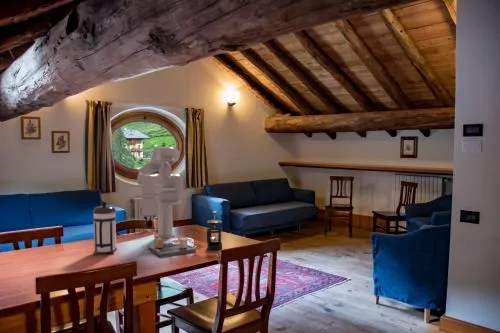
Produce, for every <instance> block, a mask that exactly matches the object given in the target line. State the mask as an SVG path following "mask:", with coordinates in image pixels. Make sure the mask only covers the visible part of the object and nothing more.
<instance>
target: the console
mask: <svg viewBox="0 0 500 333" xmlns="http://www.w3.org/2000/svg"><path fill="white" fill-rule="evenodd" d="M173 243H174V242H172V243H167V244H165V243H163V247H162V248H157V247H156V245H151V246H147V251H148V252H150V253H152V254H153V255H155V256H156V257H158V258H159V259H160V258H167V257H174V256H180V255H185V254H192V253H196V252H197V250H196V248H195V247H193V246H192V245H191V244H187V248H181V247H180V244H173Z"/></svg>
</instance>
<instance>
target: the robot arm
mask: <svg viewBox="0 0 500 333" xmlns="http://www.w3.org/2000/svg"><path fill="white" fill-rule="evenodd" d="M180 155H181V154H180V150H178V149H177V148H176V147H173V146H157V147H155V148H154V149H153V151H152V155H151V157H150V161H149V162H147V163H145V164H144V165H142V167H140V169H139V171H138V174H137V179H136V182H137V184H138V185H139V186H141V192H142V193H141V194H142V197H141V198H140V201H139V218H140V219H144V220H145V221H146V227H147V229H148V228H151V229H152V228H153V227H152V226H153V221H154V219H155V218H157V220H158V221H157V222H158V223H157V226H158V227H157V229H158V231H157V232H158V233H156V234H155V236H156V238H162V239H167V238H173V237H175V236H176V234H175V232H173V209H172V207H171V206H170V205H180V204H182V202H183V196H184V194H183V186H184V185H183V178H182V176H181V175H180V174H176V173H175V174H174V173H173V174H172V165H171V163H170V162H178V161H179V160H180ZM155 172H158V173H155ZM158 186H159V187H160V188H162V189H164V190H158V192H157V193H156V187H158ZM170 189H173V190H170Z"/></svg>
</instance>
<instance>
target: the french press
mask: <svg viewBox="0 0 500 333" xmlns="http://www.w3.org/2000/svg"><path fill="white" fill-rule="evenodd" d="M211 213H212V214H213V216H214V218H213V219H212V220H211V219H210V220H207V226H209V227H208V228H206V243H207V246H206V247H207V248H206V250H207V251H210V252H215V251H216V252H217V251H221V250H220V249H222V250H223V243H222V239H223V237H222V232H223V229H222V228H221V227H216V225H222V223H223V221H222V220H219V219H216V213H218V211H216V210H212V211H211ZM212 234H214V236H212ZM216 234H217V236H216Z"/></svg>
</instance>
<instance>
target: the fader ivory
mask: <svg viewBox="0 0 500 333" xmlns="http://www.w3.org/2000/svg"><path fill="white" fill-rule="evenodd" d="M179 242H180V247H181V248H187V245H188V239H187V238H186V237H181V238H179Z"/></svg>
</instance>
